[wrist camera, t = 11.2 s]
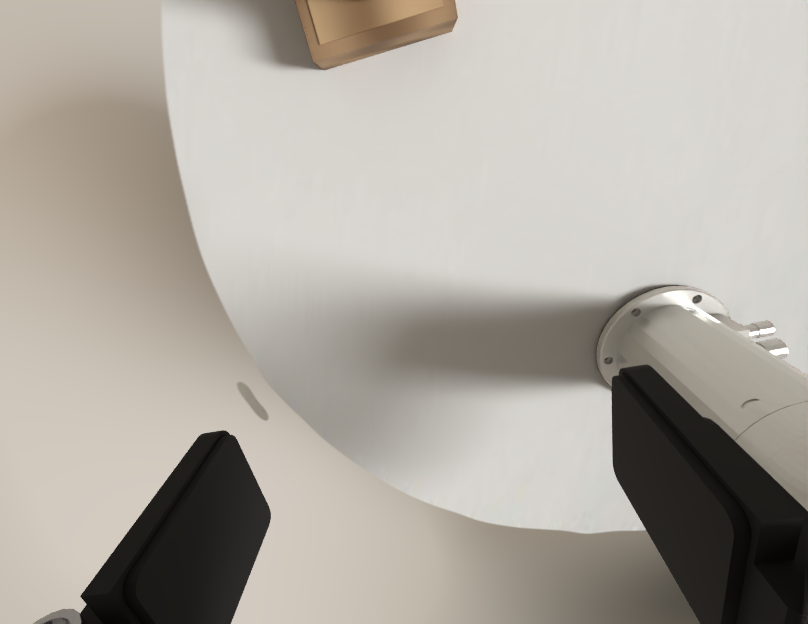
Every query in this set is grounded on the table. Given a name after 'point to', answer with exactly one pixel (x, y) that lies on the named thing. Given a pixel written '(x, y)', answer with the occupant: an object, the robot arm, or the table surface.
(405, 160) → the table surface
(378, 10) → the base
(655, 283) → the table surface
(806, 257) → the table surface
